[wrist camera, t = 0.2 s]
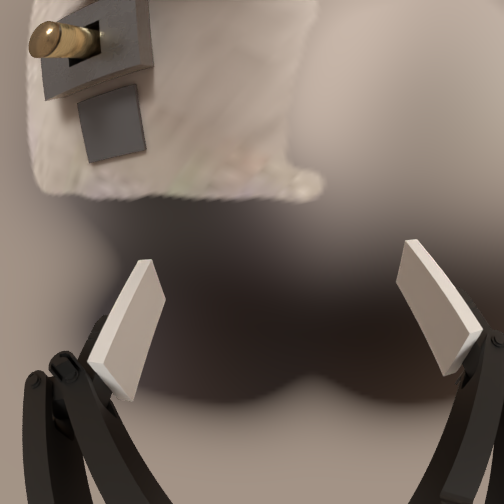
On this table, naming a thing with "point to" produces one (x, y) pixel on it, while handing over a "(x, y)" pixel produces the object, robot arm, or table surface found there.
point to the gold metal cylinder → (64, 41)
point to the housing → (102, 47)
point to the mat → (112, 124)
